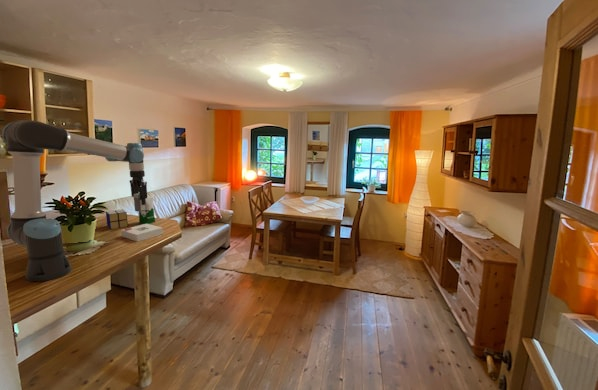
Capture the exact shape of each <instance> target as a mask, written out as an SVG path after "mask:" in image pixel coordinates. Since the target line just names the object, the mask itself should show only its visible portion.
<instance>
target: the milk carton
mask: <svg viewBox="0 0 598 390" xmlns="http://www.w3.org/2000/svg"><path fill="white" fill-rule="evenodd" d="M154 199H155V196H151V195H147V198H146V211H141V212H138V216H139V217H138V218H139V219H138V220H139V221H138V222H139V224H140V225H143V224H150V225H151V224H153V223H156V218H155V210H154Z"/></svg>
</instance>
